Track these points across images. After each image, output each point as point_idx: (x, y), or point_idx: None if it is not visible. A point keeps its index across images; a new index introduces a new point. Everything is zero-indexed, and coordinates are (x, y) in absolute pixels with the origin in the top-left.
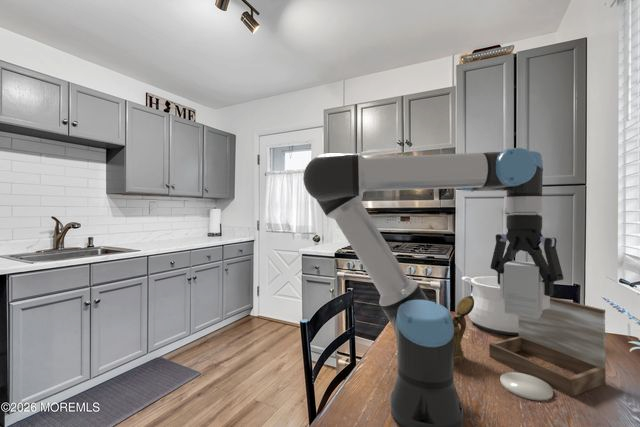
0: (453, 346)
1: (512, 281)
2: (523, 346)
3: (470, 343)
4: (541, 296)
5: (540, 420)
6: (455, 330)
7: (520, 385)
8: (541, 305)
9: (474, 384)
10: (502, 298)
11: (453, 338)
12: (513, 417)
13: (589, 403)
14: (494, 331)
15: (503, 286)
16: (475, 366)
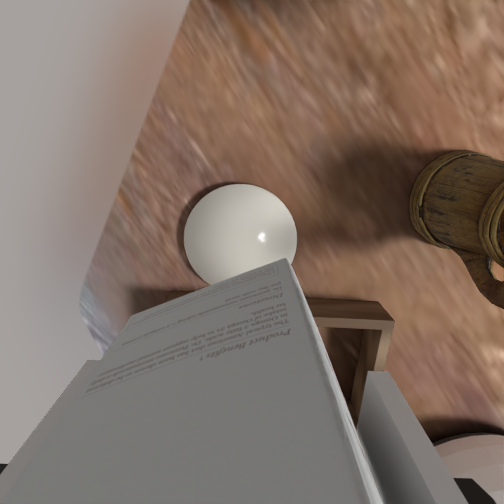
0: (450, 191)
1: (236, 460)
2: (348, 409)
3: (456, 327)
4: (40, 434)
5: (142, 134)
6: (489, 214)
7: (242, 223)
8: (81, 378)
9: (313, 129)
10: (369, 371)
11: (471, 199)
12: (174, 84)
13: (142, 296)
14: (450, 437)
15: (407, 461)
16: (369, 220)
